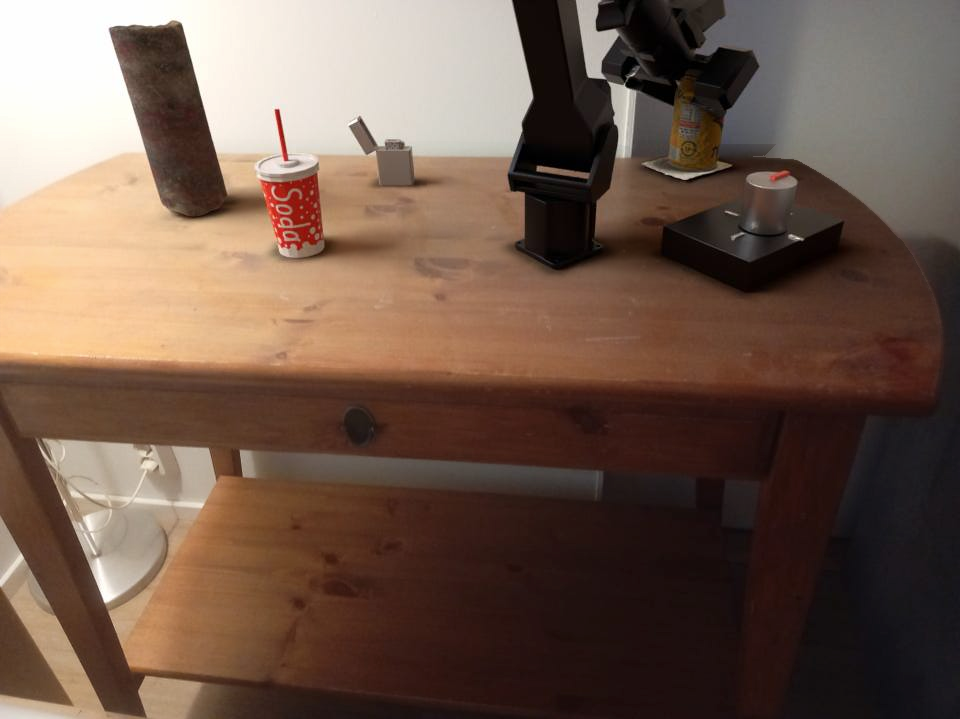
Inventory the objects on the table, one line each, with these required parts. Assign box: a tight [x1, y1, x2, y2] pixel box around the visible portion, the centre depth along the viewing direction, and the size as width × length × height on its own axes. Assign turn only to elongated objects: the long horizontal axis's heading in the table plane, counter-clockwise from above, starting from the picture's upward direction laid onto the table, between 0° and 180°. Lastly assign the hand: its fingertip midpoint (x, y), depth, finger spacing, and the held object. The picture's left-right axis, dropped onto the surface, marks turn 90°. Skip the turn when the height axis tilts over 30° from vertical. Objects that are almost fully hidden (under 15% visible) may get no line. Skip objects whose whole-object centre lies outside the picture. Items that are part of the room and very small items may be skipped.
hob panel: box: [659, 195, 845, 293], centre depth 71 cm, size 14×10×3 cm
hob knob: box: [739, 170, 798, 235], centre depth 68 cm, size 4×4×5 cm
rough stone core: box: [108, 19, 228, 217], centre depth 81 cm, size 8×7×20 cm
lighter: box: [347, 115, 416, 186], centre depth 89 cm, size 7×2×8 cm, turn 85°
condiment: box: [641, 76, 733, 181], centre depth 89 cm, size 7×8×12 cm
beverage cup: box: [254, 108, 326, 259], centre depth 72 cm, size 6×6×14 cm
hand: (702, 110), depth 89 cm, fingers closed on condiment, 6 cm apart
